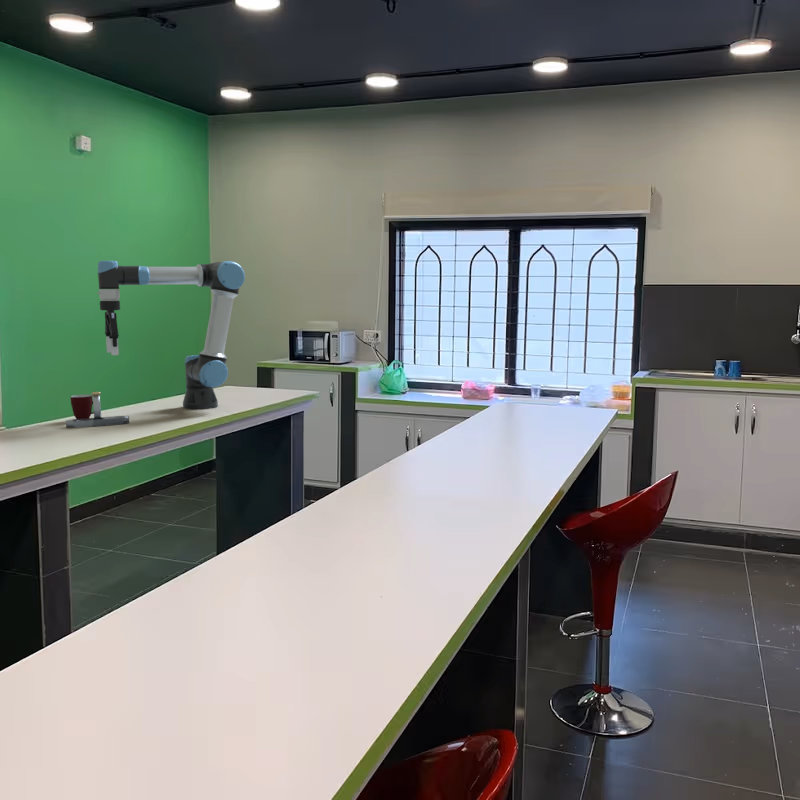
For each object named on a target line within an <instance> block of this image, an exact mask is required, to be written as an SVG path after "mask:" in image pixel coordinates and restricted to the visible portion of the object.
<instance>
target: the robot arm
mask: <svg viewBox="0 0 800 800" xmlns="http://www.w3.org/2000/svg"><path fill="white" fill-rule="evenodd" d="M97 278H98V291H97V294H98V296H99V300H100V301H99V309H100V311H105V312H104V322H105V323H104V324H105V326H104V329H105V330H104V334H105V338H106V339H105V342H106V345H105V347H106V353H107V354H108V353H109V354H110V353H111V355H110V356H120V351H119V337H120V334H119V328H118V327H119V326H118V321H117V318H118V317H117V312H115V311H120V310H121V302H120V298H121V297H120V294H121V293H120V286H143V285H144V286H146V285H151V286H152V285H154V286H155V285H157V286H158V285H164V286H165V285H196V286H198V287H200V288H201V287H204V288H205V287H206V288H210V291H211V293H212V295H213V296H212V303H211V308H210V313H209V319H208V325H207V329H206V335H205V341H204V346H203V347H204V348H203V350H202V351H200V352H199V354H197V355H196V354H194V355H187V356H186V357H185V358H184V370H185V371H184V372H185V384H186V385H185V386H186V387H185V394H184V396H183V397H184V398H183V401H182V408H183V409H188V410H189V409H190V410H203V409H213V408H216V407H219V404H218V402H219V401H218V399H217V395H216V392H215V390H214V388H218V387H220V386H222V385H224V383H225V382H226V380H227V379H228V376H229V369H228V367H227V361H228V358H227V355H226V354H225V350H226V344H227V338H228V334H229V327H230V323H231V317H232V316H231V315H232V310H233V304H234V299H235V298H236V297H238V296H239V292H240V288H241V287H242V286H243V285H244V283H245V280H246V279H245V278H246V274H245V270H244V268H243V267H242V266H241V265H240V264H239V263H237V262H236V261H231V260H230V261H229V260H224V261H215V262H211V263H203V264H200V263H198V264H196V266H146V265H145V266H144V265H142V266H141V265H119V262H118V261H117V260H99V261H98V263H97Z"/></svg>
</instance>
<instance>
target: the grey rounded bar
mask: <svg viewBox="0 0 800 800" xmlns="http://www.w3.org/2000/svg"><path fill="white" fill-rule="evenodd" d="M127 424H130V416H129V415H113V416H101V419H97V420H94V417H90V418H85V419H76V418H75V419H74V418H73V419H72V418H71V419H67V420H65V428H66V429H77V428H78V429H79V428H89V427H101V426H102V427H103V426H115V425H127Z"/></svg>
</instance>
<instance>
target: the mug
mask: <svg viewBox="0 0 800 800" xmlns="http://www.w3.org/2000/svg"><path fill="white" fill-rule="evenodd" d="M70 406H71V409H72V413H73V416H74V418H75V419H85V418H91V415H94V411H93V395H92V394H75V395H71V396H70Z"/></svg>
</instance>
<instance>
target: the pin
mask: <svg viewBox="0 0 800 800" xmlns="http://www.w3.org/2000/svg"><path fill="white" fill-rule="evenodd" d="M90 395H92V400H93V404H92V409H93V412H94V414H93V418H94V420H97V419H101V417H102V410H101V409H102V408H101V395H102V392H101V391H93V392H91V394H90Z"/></svg>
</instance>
